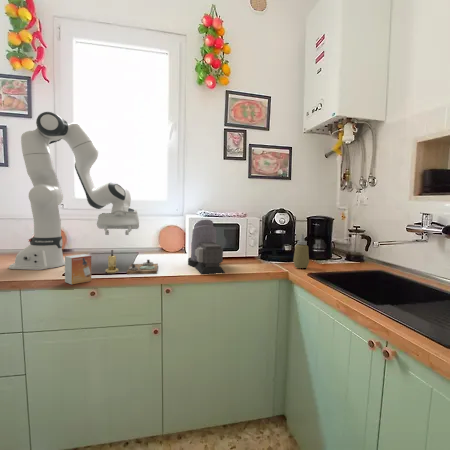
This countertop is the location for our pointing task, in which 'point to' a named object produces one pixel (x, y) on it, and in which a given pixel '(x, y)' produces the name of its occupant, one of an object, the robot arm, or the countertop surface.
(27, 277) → the countertop surface
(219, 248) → the juicer
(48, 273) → the countertop surface
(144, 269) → the gear board
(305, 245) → the squeeze bottle
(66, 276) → the small box
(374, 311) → the countertop surface
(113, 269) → the brass pinion
